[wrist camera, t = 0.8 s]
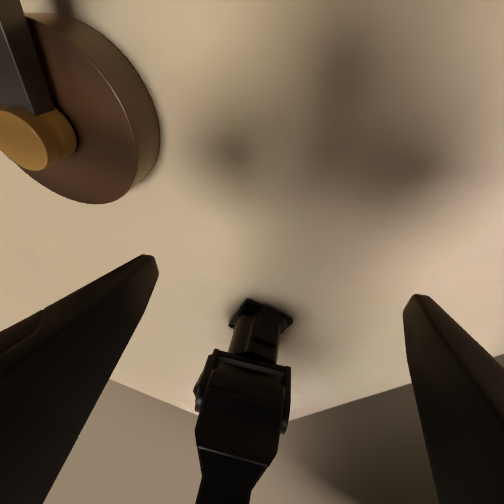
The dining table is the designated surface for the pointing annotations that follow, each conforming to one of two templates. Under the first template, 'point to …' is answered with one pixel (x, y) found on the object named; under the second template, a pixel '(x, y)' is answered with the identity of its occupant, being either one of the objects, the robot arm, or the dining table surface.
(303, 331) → the dining table surface
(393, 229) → the dining table surface
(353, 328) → the dining table surface
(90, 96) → the crank base
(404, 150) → the dining table surface
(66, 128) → the crank handle
